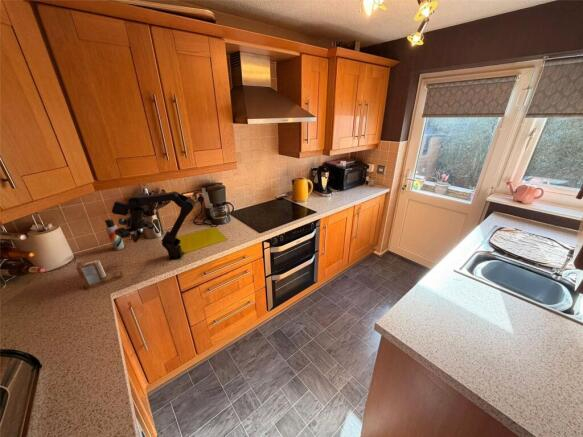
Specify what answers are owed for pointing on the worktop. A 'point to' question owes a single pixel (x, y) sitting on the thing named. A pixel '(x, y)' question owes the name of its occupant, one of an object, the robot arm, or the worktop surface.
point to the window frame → (94, 275)
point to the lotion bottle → (113, 235)
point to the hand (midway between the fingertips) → (135, 242)
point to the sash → (98, 267)
